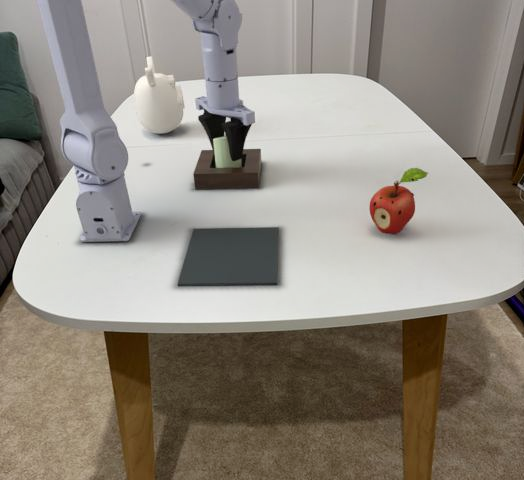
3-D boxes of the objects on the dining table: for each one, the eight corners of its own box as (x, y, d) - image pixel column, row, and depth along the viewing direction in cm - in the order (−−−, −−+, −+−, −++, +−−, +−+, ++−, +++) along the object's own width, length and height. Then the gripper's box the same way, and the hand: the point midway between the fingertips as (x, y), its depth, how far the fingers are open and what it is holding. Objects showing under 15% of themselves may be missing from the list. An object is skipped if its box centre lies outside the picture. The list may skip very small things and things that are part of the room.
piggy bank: (196, 134, 118) (187, 62, 108) (147, 144, 115) (134, 70, 105) (179, 120, 127) (170, 51, 117) (133, 128, 123) (120, 58, 113)
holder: (258, 188, 95) (258, 172, 93) (195, 189, 96) (193, 173, 94) (261, 163, 104) (260, 148, 102) (203, 164, 105) (201, 150, 103)
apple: (379, 244, 78) (387, 181, 71) (360, 224, 83) (366, 164, 76) (424, 236, 79) (436, 173, 73) (402, 217, 84) (412, 156, 78)
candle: (213, 173, 101) (209, 130, 95) (237, 169, 102) (234, 126, 97) (221, 182, 97) (217, 139, 92) (245, 178, 99) (243, 134, 93)
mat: (277, 284, 71) (277, 282, 70) (177, 285, 72) (177, 283, 71) (278, 229, 83) (278, 227, 82) (193, 230, 83) (193, 228, 83)
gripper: (266, 79, 86) (269, 159, 95) (213, 66, 94) (220, 141, 103) (235, 88, 82) (240, 170, 91) (182, 74, 91) (192, 151, 100)
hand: (227, 156), depth 97 cm, fingers closed on candle, 5 cm apart
